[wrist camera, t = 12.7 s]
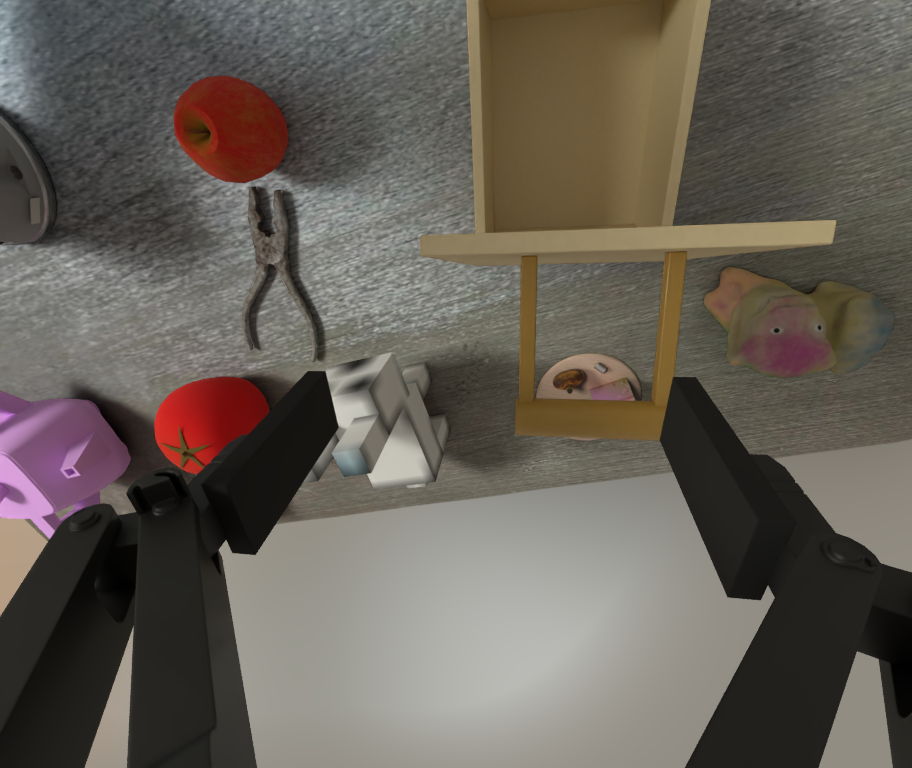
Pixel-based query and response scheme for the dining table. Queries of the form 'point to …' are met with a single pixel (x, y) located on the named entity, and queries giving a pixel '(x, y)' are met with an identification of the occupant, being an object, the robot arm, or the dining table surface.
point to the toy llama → (383, 424)
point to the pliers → (272, 262)
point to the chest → (581, 110)
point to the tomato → (207, 419)
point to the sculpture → (797, 324)
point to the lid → (608, 248)
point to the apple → (230, 129)
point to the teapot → (54, 458)
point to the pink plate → (590, 380)
